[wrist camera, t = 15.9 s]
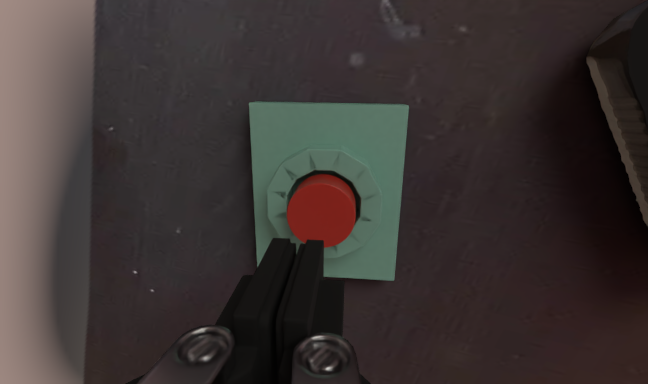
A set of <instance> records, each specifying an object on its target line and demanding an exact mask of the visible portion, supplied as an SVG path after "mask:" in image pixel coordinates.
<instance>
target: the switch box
mask: <svg viewBox="0 0 648 384" xmlns="http://www.w3.org/2000/svg"><path fill="white" fill-rule="evenodd" d="M408 111H409V106H408V105H405V104H364V103H309V102H251V103H249V117H250V136H251V156H252V175H253V195H254V214H255V233H256V253H257V268H258V266H259V264H260V262H261V260H262V258H263V256H264V254H265V252H266V250H267V248H268V246H269V244H270V242H271V240H272V239H273V238H289V239H290V241H291V243H296V253H297V252H298V249H299V246H300V243H303V242H302V241H300V240H299V239H298V238H297V237H296V236H295V235H294V234H293V232H292V231H291V229H290V227H289V224H288V221H287V208H288V204H289V202H290V200H291V198H292V196H293V194H294V193H295V191H296V189H297V187H298V186H299V185H300V184H301V183H302V182H303V181H304V180H305V179H307V178H309V177H311V176H314V175H318V174H329V175H333V176H336V177H338V178H340V179H342V180H343V181H344V182H345V183H347V184H348V186H349V187H350V188H351V190H352V192H353V194H354V197H355V202H356V219H355V225H354V228H353V230H352V232H351V233H350V235H349V236H348V237H347V238H346V239H345V240H344V241H342V242H341V243H339V244H337V245H335V246H332V247H326V248H324V277H337V278H355V279H372V280H389V281H394V275H395V263H396V252H397V240H398V228H399V217H400V205H401V193H402V181H403V170H404V158H405V146H406V134H407V123H408ZM303 244H305V243H303Z"/></svg>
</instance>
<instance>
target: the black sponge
mask: <svg viewBox="0 0 648 384" xmlns="http://www.w3.org/2000/svg"><path fill="white" fill-rule="evenodd" d="M586 60H587V64H588V66H589V68H590V72H591V77H592V79H593V81H594V84H595V86H596V89H597V92H598V97H599V99H600V102H601V107H602V110H603V111H604V113H605V115H606V119H607V121H608V124H609V128H610V130H611V131H612V133H613V137H614V139H615V142H616V144H617V146H618V150H619V152H620V154H621V161H622V162H623V163H624V164H625V167H626V172H627V174H628V176H629V182H630V184H631V186H632V188H633V192H634V193H635V195H636V197H637V198H636V201H637V202H638V204H639V206H640V211H641V212H642V214H643V220H644V222H645V223H646V224H647V226H648V0H647V1H645V2H644V3H642V4H640V5H638V6H636V7H634V8H632V9H630V10H629V11H627V12H625V13H623V14H621V15H619V16H618V17H616V18H614V19H613V20H612V21H611V23H610V24H609V25H608V26H607V27H606V28H605V29H604V31H603V32H602V33H601V34H600V35H599V36H598V38H597V39H596V40H595V41H594V42H593V44H592V45H591V47H590V50H589V52H588V55H587V57H586Z"/></svg>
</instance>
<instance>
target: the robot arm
mask: <svg viewBox="0 0 648 384" xmlns="http://www.w3.org/2000/svg"><path fill="white" fill-rule="evenodd" d="M344 282H345V281H339V280H324V240H309V239H307V241H306V244H303V243H300V246H299V249H298V252H297V253H296V243H291V241H290V239H289V238H273V239H272V240H271V242H270V244H269V246H268V248H267V250H266V252H265V254H264V256H263V258H262V260H261V262H260V264H259V266H258V268H257V270H256V271H255V273H254V275H244V276H243V277H242V278H241V280H240V282H239V283H238V285H237V287H236V289H235V290H234V292H233V294H232V296H231V297H230V299H229V301H228V303H227V305H226V306H225V308H224V310H223V312H222V313H221V315H220V317H219V319H218V320H217V322H216V324H215V325H205V326H199V327H197V328H194V329H191V330H189V331H187V332H186V333H184V334H182V335H181V336H180V337H179V338H178V339H177V340H176V341H175V342H174V343H173V344H172V345H171V346H170V347H169V348H168V350H167V351H166V352H165V353H164V354H163V355H162V356H161V357H160V359H159V360H158V361H157V362H156V363H155V364H154V365H153V366H152V367H151V369H150V370H149V371H148V372H147V373H146V374H145V375H143V376H140V377H138V378H136V379H134V380H132V381H130V382H128V383H126V384H371V383H370V382H368V381H367V380H366V379H365V378H364V377H363V376H362V375H361V374H360V372H359V367H358V362H357V357H356V353H355V350H354V348H353V346H352V345H351V344H350V343H349V342H348V340H346V339H344V338H343V337H342V334H343V311H344Z"/></svg>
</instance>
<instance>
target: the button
mask: <svg viewBox="0 0 648 384" xmlns="http://www.w3.org/2000/svg"><path fill="white" fill-rule="evenodd" d="M355 219H356V202H355V197H354V194H353V192H352V190H351V188H350V187H349V186H348V184H347V183H345V182H344V181H343V180H342V179H340V178H338V177H336V176H333V175H329V174H318V175H314V176H311V177H309V178H307V179H305V180H304V181H303V182H302V183H301V184H300V185H299V186H298V187H297V189H296V191H295V193H294V194H293V196H292V198H291V200H290V202H289V204H288V208H287V221H288V224H289V227H290V229H291V231H292V232H293V234H294V235H295V236H296V237H297V238H298V239H299V240H300V241H302V242H303V243H305V244H306V241H307V239H309V240H324V248H326V247H332V246H335V245H337V244H339V243H341V242H342V241H344V240H345V239H346V238H347V237H348V236H349V235H350V233H351V232H352V230H353V228H354V225H355Z"/></svg>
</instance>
